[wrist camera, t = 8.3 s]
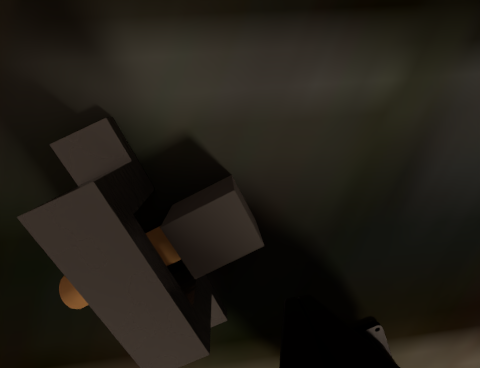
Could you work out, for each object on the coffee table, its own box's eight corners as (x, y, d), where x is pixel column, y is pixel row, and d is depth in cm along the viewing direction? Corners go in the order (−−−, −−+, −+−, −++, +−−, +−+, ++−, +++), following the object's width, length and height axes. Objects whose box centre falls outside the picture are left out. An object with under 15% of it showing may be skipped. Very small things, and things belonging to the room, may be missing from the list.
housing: (227, 310, 21) (230, 385, 15) (186, 328, 21) (174, 408, 15) (112, 117, 16) (51, 119, 10) (59, 142, 16) (-32, 159, 10)
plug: (231, 174, 17) (234, 189, 14) (255, 220, 19) (264, 245, 15) (69, 256, 18) (32, 291, 15) (102, 295, 19) (75, 337, 16)
